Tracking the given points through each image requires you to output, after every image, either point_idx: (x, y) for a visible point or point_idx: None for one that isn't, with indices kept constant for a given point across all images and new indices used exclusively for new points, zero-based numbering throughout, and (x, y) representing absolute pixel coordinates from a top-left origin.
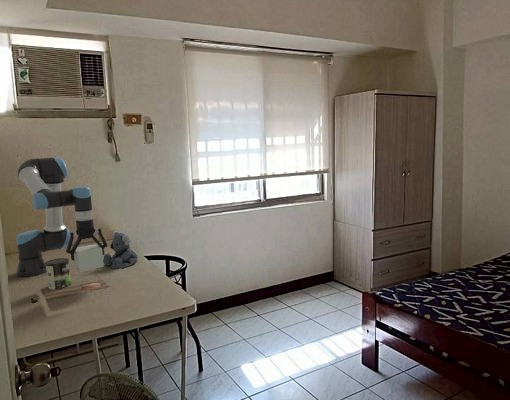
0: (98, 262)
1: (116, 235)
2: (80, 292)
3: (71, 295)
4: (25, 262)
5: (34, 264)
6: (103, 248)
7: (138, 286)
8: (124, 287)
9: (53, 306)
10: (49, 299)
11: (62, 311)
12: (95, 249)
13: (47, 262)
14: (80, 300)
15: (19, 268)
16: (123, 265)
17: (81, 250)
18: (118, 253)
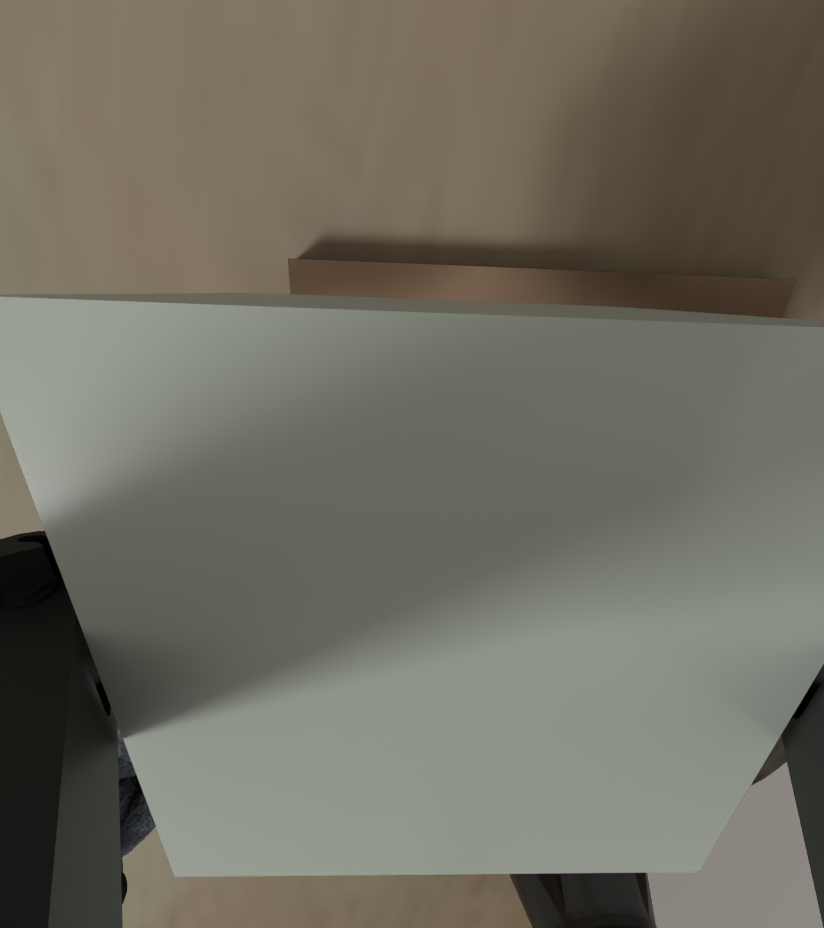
0: (314, 296)
1: None
2: (532, 298)
3: (614, 274)
4: (639, 911)
5: (593, 881)
6: (17, 541)
7: (33, 148)
8: (168, 229)
9: (777, 181)
10: (768, 306)
11: None
12: (262, 349)
13: (768, 757)
14: (571, 161)
15: (647, 876)
16: None
17: (710, 565)
18: None
